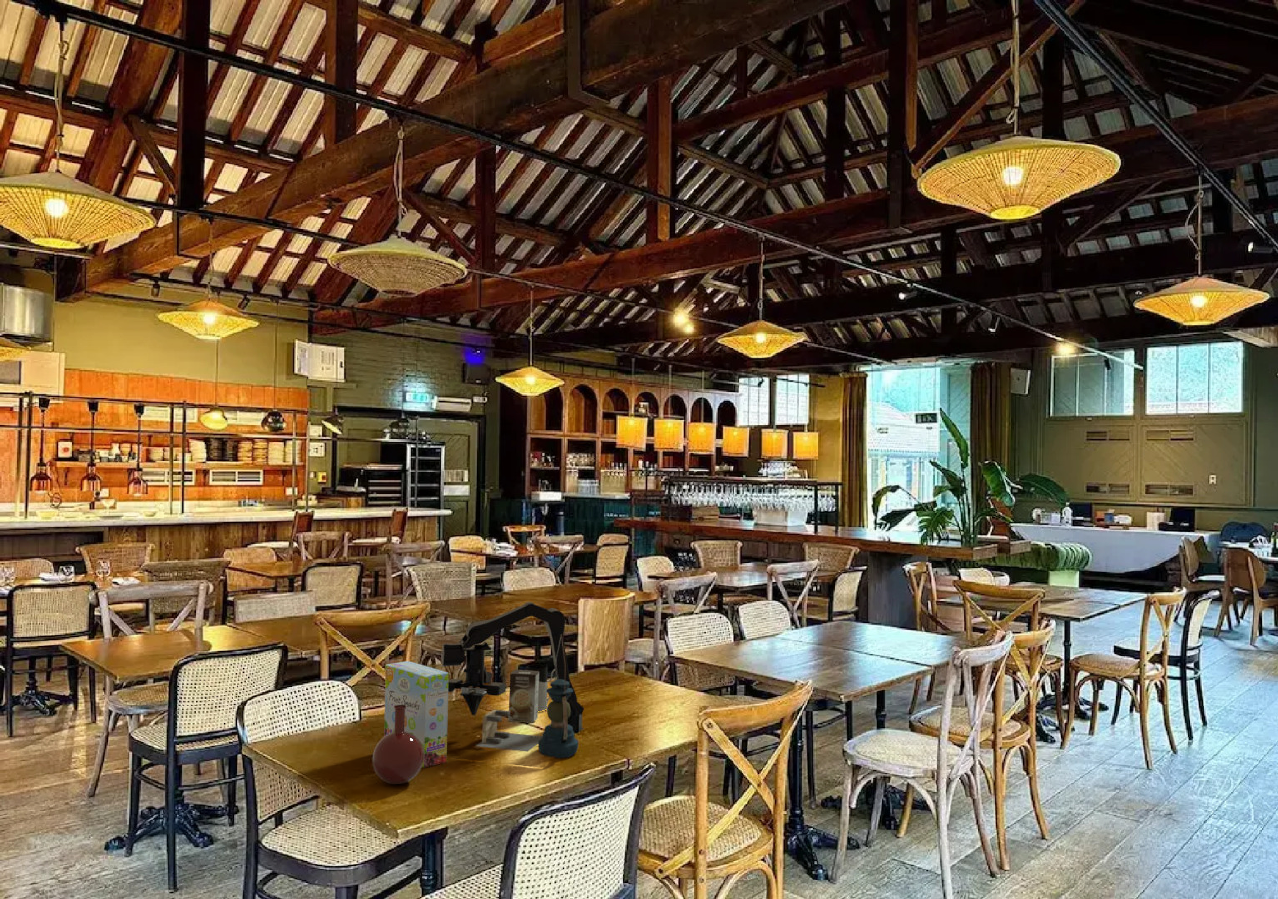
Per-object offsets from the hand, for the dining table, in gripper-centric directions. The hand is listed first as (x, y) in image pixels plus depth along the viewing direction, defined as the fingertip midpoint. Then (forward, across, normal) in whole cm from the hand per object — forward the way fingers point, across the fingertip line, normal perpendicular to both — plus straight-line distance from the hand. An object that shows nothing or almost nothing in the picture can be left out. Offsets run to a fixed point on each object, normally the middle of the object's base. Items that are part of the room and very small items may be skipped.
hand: (473, 715), depth 272 cm
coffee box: (+8, -6, -26) cm, 28 cm away
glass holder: (+8, -7, -42) cm, 43 cm away
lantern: (+8, -30, +5) cm, 31 cm away
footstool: (+7, -8, 0) cm, 10 cm away
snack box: (+8, +8, +22) cm, 25 cm away
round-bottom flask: (+8, +1, +43) cm, 44 cm away
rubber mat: (+7, -13, 0) cm, 15 cm away
